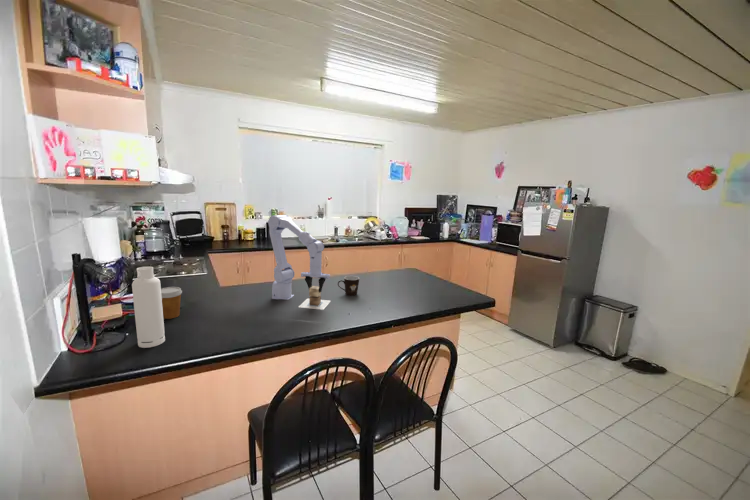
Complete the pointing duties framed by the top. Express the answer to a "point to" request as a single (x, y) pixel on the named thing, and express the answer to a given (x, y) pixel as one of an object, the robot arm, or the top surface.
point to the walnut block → (315, 300)
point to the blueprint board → (320, 306)
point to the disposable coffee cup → (171, 302)
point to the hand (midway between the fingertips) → (315, 291)
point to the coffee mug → (350, 285)
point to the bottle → (148, 308)
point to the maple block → (314, 291)
